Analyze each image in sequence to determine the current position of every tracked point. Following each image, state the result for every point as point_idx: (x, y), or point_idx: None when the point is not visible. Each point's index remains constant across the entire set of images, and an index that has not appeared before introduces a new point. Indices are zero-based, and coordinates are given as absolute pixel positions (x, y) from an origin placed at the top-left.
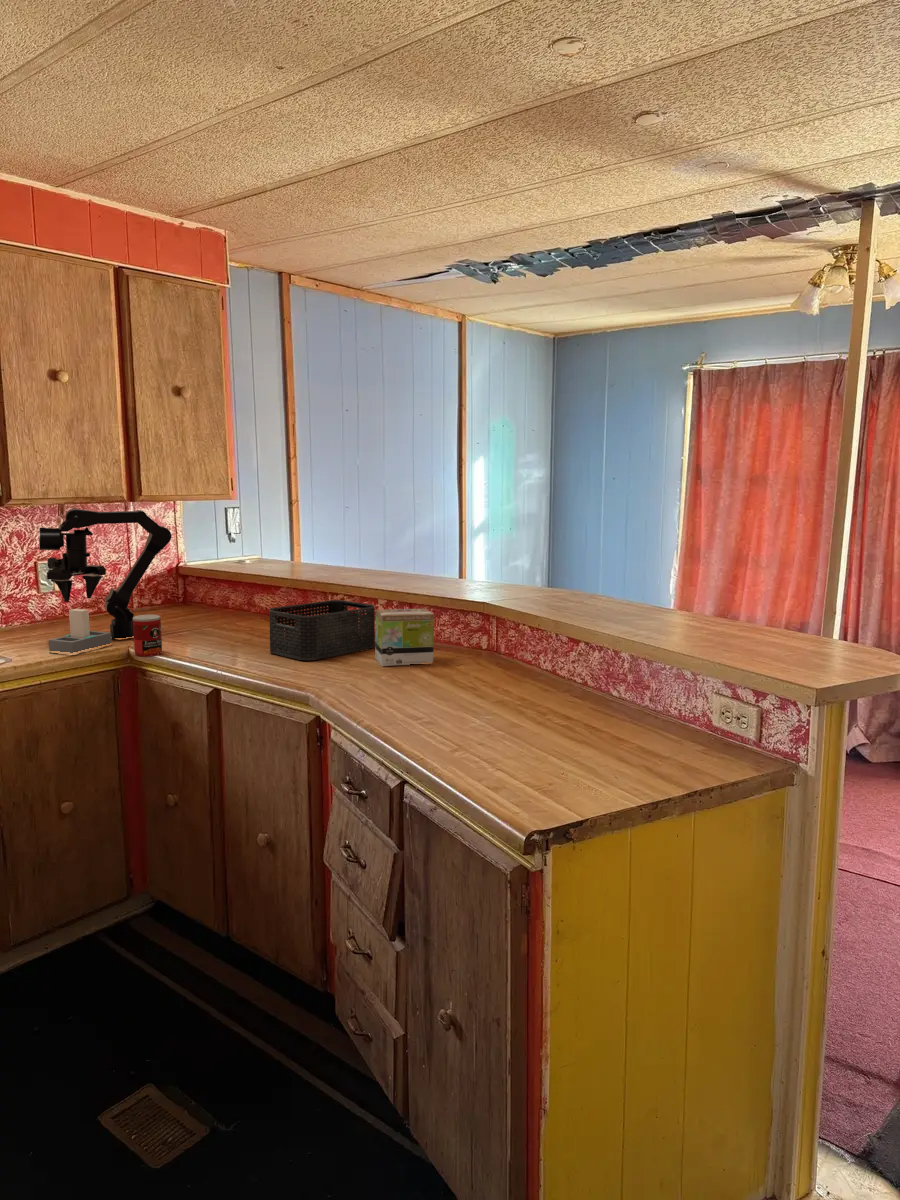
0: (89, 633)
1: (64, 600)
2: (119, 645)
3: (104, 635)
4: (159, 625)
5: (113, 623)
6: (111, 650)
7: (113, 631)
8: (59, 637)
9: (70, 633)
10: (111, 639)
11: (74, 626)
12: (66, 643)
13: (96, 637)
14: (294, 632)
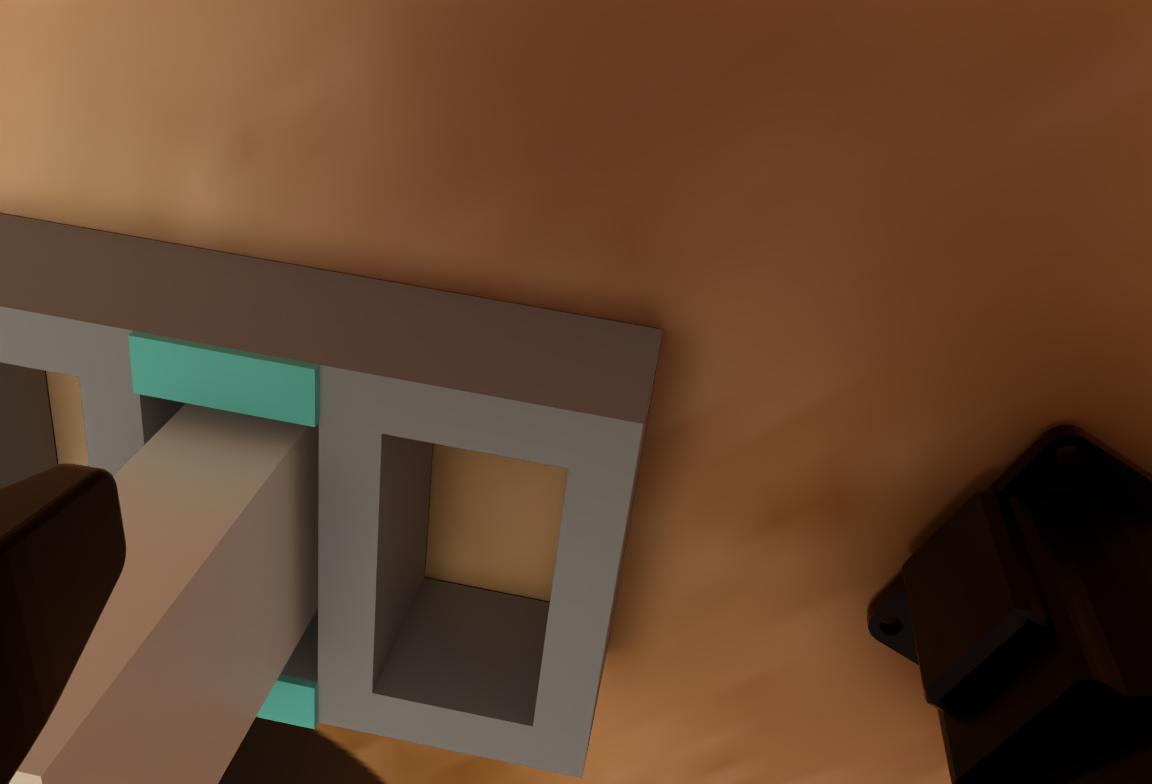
0: (271, 675)
1: (21, 490)
2: (642, 715)
3: (461, 740)
4: None
5: (997, 697)
6: (396, 743)
7: (913, 631)
8: (30, 318)
9: (141, 449)
10: (595, 707)
11: None
12: None
13: (319, 711)
14: None
